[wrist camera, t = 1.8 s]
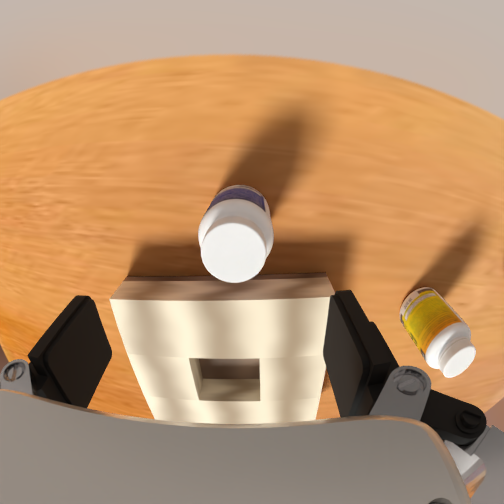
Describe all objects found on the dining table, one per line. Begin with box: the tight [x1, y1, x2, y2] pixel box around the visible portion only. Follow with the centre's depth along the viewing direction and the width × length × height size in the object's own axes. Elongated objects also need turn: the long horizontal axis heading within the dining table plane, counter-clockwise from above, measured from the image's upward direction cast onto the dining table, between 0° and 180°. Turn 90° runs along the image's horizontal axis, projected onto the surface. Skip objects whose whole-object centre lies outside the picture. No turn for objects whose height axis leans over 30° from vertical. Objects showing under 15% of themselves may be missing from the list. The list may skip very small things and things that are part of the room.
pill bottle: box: [198, 185, 274, 283], centre depth 21 cm, size 5×5×9 cm
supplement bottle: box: [400, 287, 476, 378], centre depth 25 cm, size 6×6×10 cm
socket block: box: [109, 272, 335, 424], centre depth 30 cm, size 20×20×4 cm
